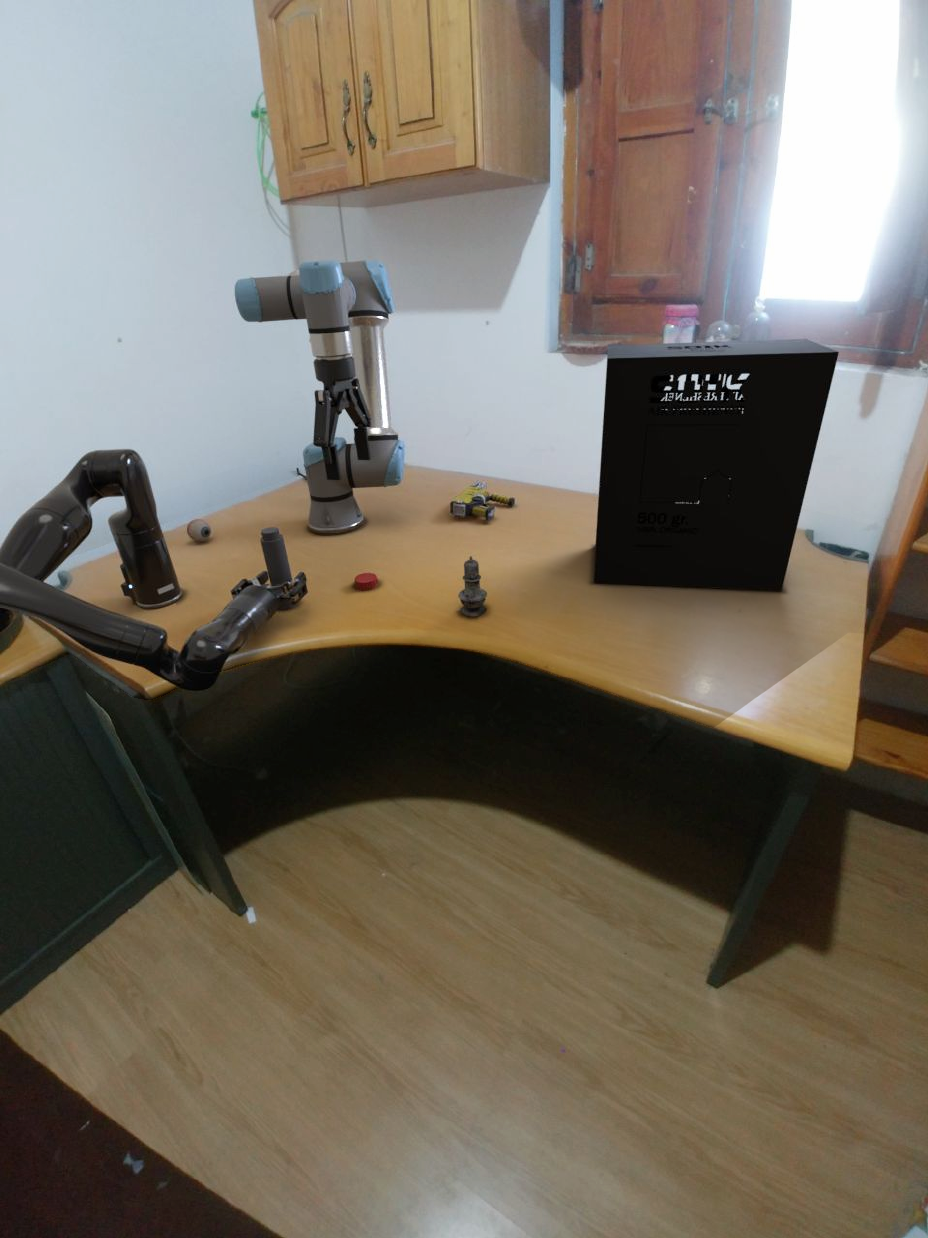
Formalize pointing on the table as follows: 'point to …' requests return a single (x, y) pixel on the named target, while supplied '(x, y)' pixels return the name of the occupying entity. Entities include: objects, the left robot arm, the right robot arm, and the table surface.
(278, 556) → the bottle
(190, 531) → the eyeball
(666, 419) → the cardboard box
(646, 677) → the table surface
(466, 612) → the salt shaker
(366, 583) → the lid
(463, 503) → the toy gun
